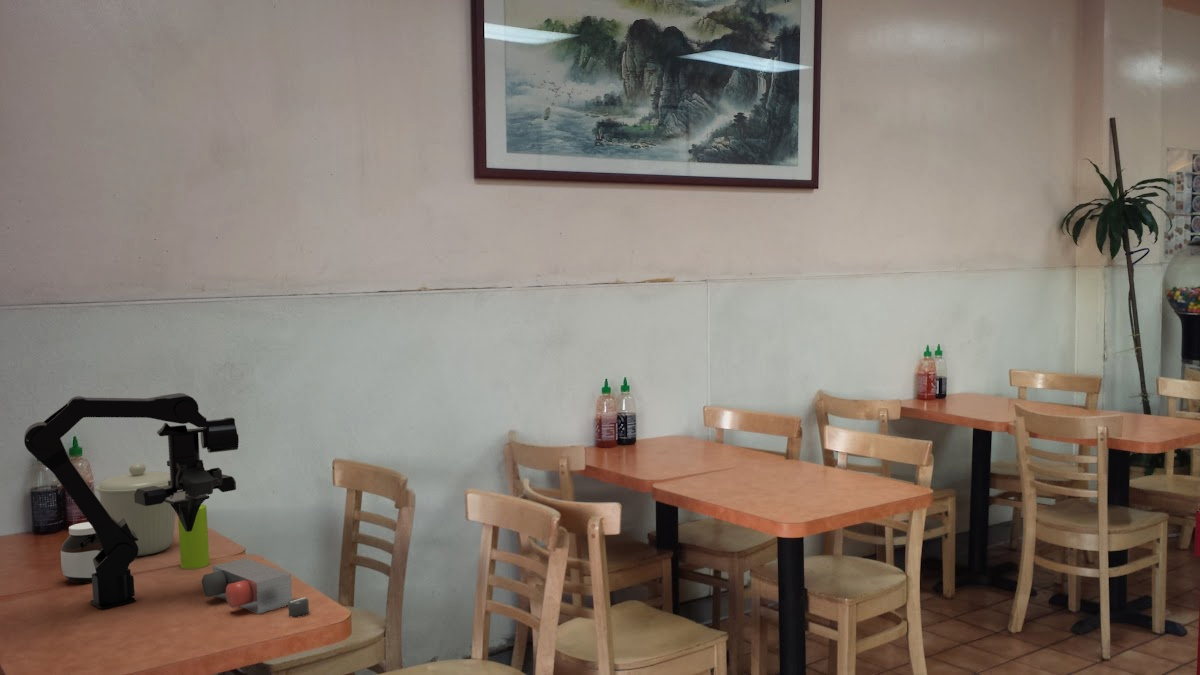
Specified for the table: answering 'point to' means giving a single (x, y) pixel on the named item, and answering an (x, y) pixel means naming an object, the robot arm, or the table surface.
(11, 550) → the table surface
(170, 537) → the canister
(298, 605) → the dial
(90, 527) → the spread jar
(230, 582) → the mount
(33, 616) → the table surface
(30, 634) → the table surface
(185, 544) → the soap dispenser
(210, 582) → the black knob
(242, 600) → the red knob
